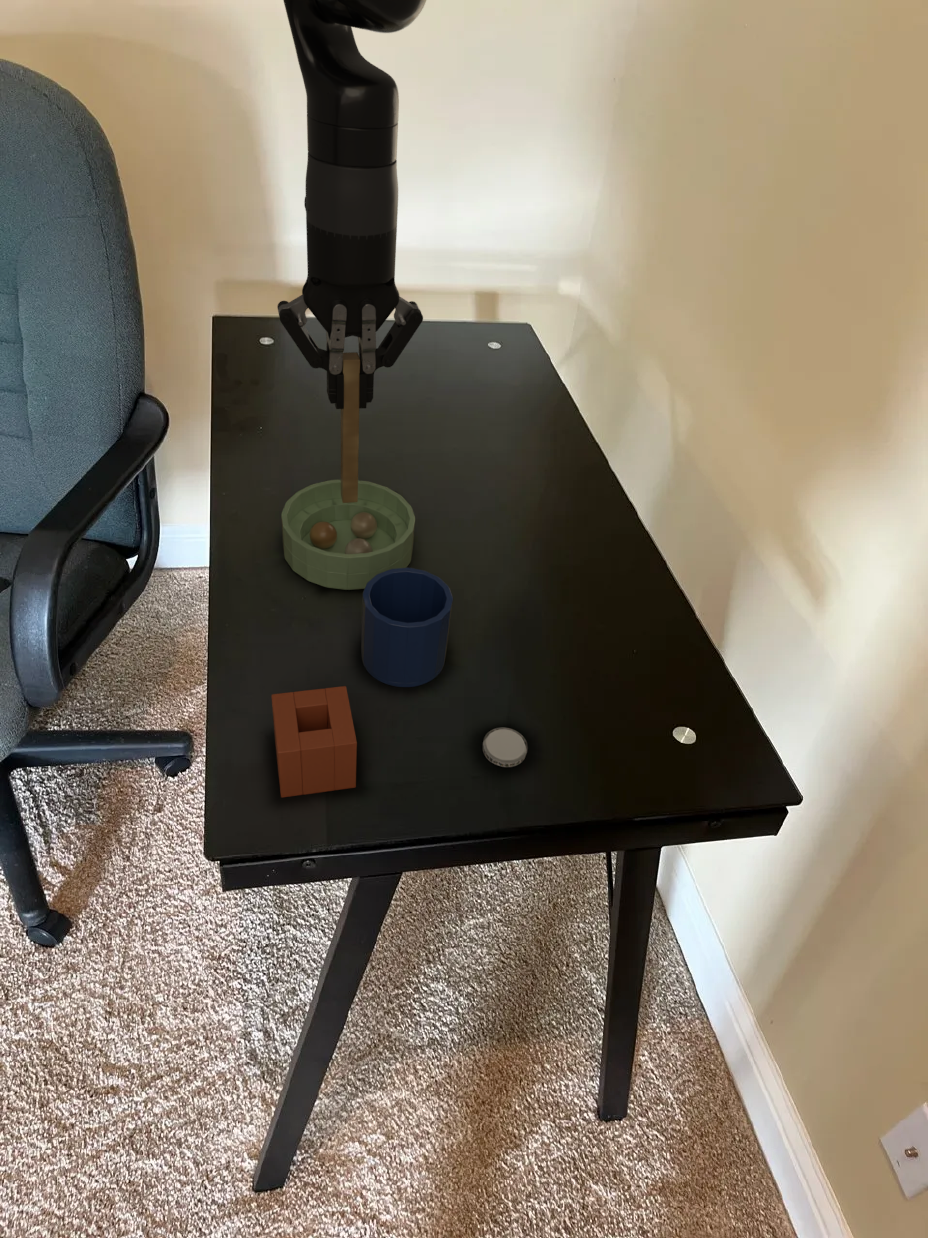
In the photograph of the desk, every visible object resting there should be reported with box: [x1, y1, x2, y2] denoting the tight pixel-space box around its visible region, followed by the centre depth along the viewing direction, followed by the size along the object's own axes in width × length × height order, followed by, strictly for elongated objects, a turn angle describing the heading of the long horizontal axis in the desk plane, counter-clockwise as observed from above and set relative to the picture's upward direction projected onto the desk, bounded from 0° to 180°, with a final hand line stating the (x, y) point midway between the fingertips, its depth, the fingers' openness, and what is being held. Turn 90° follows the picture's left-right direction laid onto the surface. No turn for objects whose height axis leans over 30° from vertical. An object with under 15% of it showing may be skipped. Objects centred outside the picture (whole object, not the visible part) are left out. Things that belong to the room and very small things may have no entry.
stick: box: [340, 351, 360, 503], centre depth 82 cm, size 2×2×16 cm
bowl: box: [280, 479, 416, 591], centre depth 91 cm, size 14×14×5 cm
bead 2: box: [351, 512, 377, 539], centre depth 93 cm, size 3×3×3 cm
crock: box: [360, 567, 454, 688], centre depth 79 cm, size 8×8×8 cm
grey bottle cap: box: [482, 727, 529, 768], centre depth 74 cm, size 4×4×1 cm
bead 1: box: [310, 521, 337, 549], centre depth 91 cm, size 3×3×3 cm
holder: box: [270, 685, 358, 799], centre depth 69 cm, size 6×6×6 cm
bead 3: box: [345, 538, 373, 554], centre depth 89 cm, size 3×3×3 cm
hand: (350, 404), depth 80 cm, fingers closed on stick, 1 cm apart
